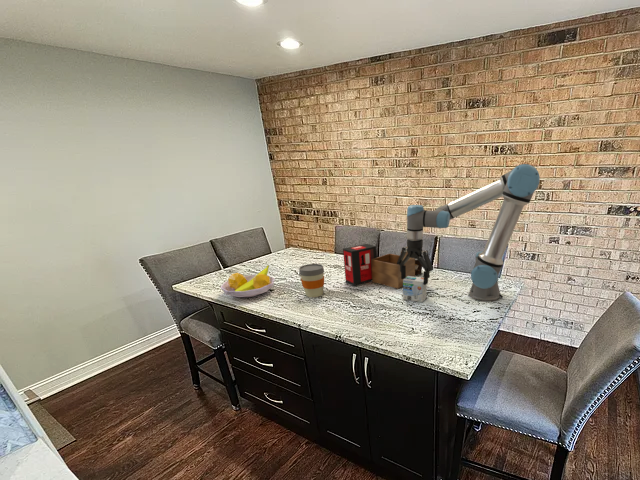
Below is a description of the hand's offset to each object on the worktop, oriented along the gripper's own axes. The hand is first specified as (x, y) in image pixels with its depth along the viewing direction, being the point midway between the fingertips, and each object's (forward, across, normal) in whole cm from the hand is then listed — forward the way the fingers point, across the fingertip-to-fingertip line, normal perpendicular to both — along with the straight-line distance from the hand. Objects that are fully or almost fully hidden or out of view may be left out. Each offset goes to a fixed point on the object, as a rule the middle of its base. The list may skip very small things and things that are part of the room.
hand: (414, 281), depth 168 cm
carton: (+10, +25, -14) cm, 30 cm away
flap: (-9, +14, -14) cm, 22 cm away
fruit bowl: (+11, +77, +44) cm, 89 cm away
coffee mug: (+10, +24, -33) cm, 42 cm away
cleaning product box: (+10, +41, -4) cm, 42 cm away
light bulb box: (+10, 0, 0) cm, 10 cm away
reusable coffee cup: (+10, +47, +26) cm, 54 cm away
